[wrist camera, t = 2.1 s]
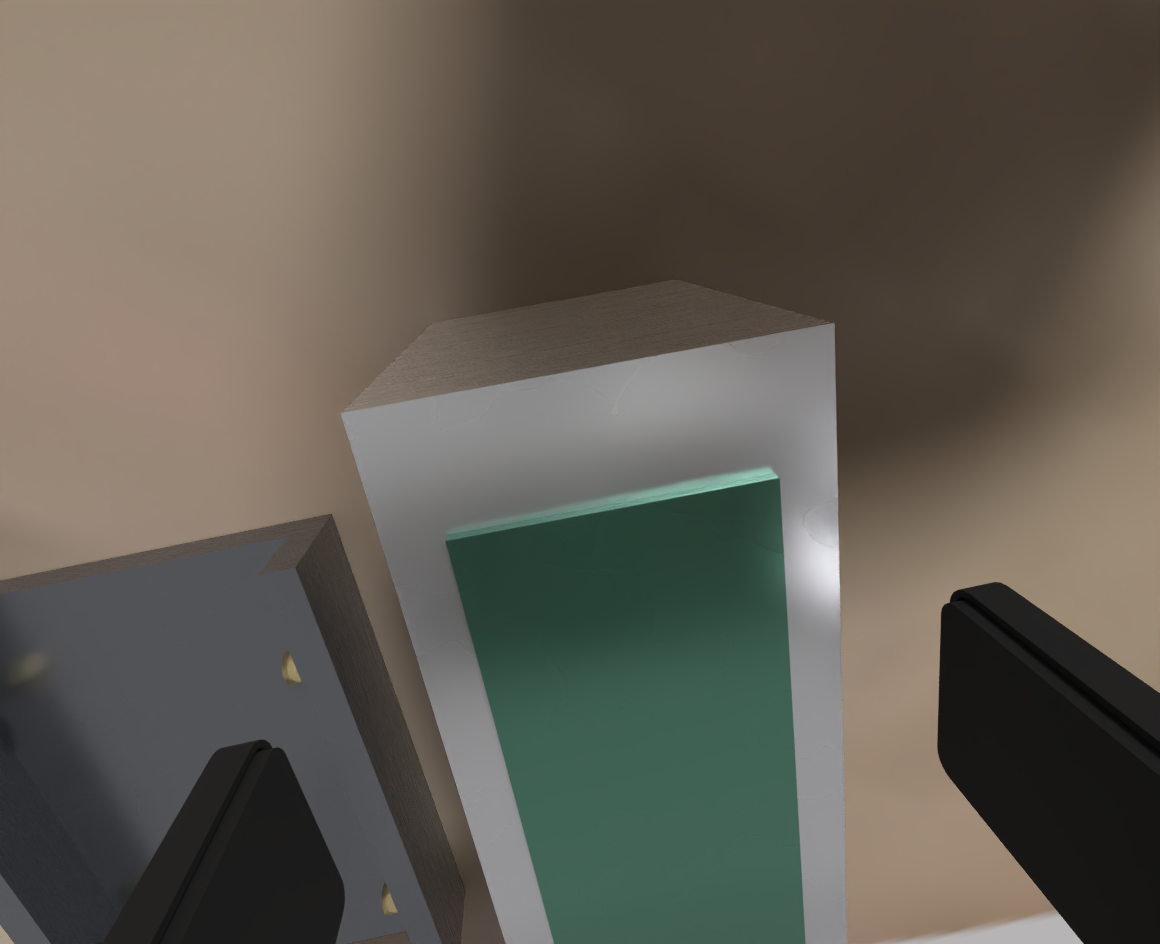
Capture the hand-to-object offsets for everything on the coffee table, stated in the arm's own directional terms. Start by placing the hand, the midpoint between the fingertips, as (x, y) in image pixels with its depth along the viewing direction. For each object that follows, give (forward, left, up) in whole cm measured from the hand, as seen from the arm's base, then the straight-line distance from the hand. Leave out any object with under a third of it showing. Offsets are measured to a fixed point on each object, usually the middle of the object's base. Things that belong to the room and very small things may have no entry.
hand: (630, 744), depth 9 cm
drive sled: (+10, +4, -6) cm, 12 cm away
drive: (0, 0, -6) cm, 6 cm away
